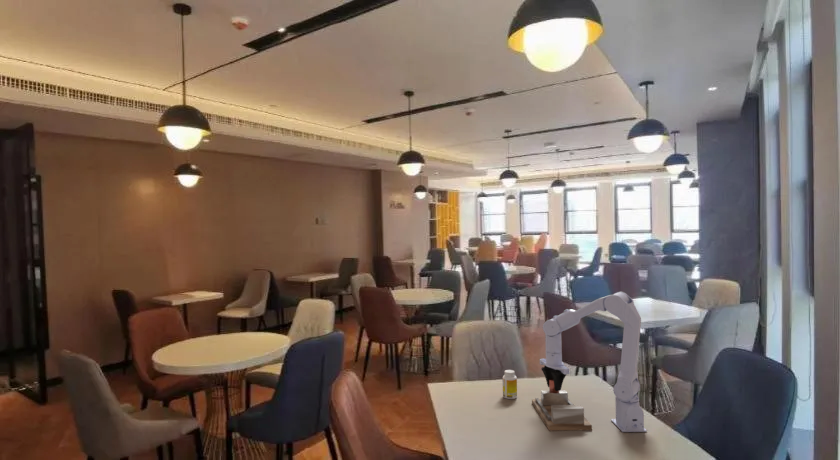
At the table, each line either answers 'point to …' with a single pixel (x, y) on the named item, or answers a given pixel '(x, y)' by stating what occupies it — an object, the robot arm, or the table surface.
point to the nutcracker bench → (560, 426)
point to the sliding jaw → (554, 395)
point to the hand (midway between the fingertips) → (554, 388)
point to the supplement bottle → (509, 384)
